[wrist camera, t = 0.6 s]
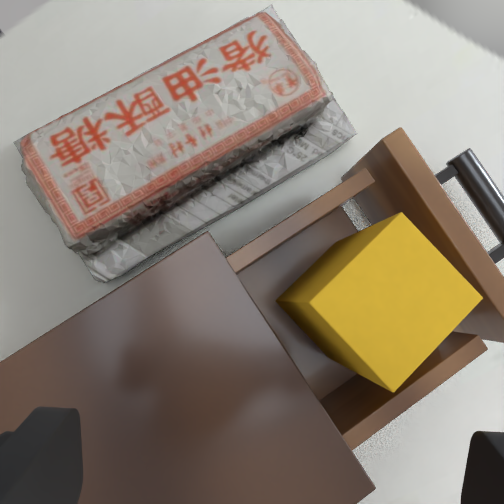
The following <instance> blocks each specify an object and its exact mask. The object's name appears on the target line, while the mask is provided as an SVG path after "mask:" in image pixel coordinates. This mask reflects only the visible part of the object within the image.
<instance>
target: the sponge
mask: <svg viewBox="0 0 504 504" xmlns="http://www.w3.org/2000/svg"><path fill="white" fill-rule="evenodd" d="M482 299H483V297H482V296H481V295H480V294H479V293H478V292H477V291H476V290H475V289H474V288H473V287H472V286H471V284H470V283H469V282H468V281H467V280H466V279H465V278H464V277H463V276H462V275H461V274H460V273H459V272H458V271H457V270H456V269H455V268H454V267H453V266H452V264H451V263H450V262H449V261H448V260H447V259H446V258H445V257H444V256H443V255H442V254H441V253H440V252H439V251H438V250H437V249H436V248H435V247H434V246H433V245H432V243H431V242H430V241H429V240H428V239H427V238H426V237H425V236H424V235H423V234H422V233H421V232H420V231H419V230H418V229H417V228H416V227H415V226H414V225H413V223H412V222H411V221H410V220H409V219H408V218H407V217H406V216H405V215H404V214H403V213H402V212H400V213H398V214H396V215H394V216H391V217H389V218H387V219H385V220H383V221H380V222H378V223H376V224H374V225H372V226H370V227H367V228H365V229H363V230H361V231H359V232H356V233H354V234H352V235H350V236H348V237H346V238H343V239H341V240H339V241H337V242H335V243H334V244H333V245H332V246H331V247H330V248H329V249H328V250H327V251H326V252H325V253H324V254H323V255H322V256H321V257H320V258H319V259H318V260H317V261H316V262H315V263H314V264H313V265H312V266H311V267H309V268H308V269H307V270H306V271H305V272H304V273H303V274H302V275H301V276H300V277H299V278H298V279H297V280H296V281H295V282H294V283H293V284H292V285H291V286H290V287H289V288H288V289H287V290H286V291H285V292H284V293H283V294H281V295H280V296H279V297H278V298H277V299H276V302H277V303H278V305H279V306H280V307H281V308H282V309H283V310H284V311H285V312H286V313H287V314H288V315H289V316H290V317H291V318H292V319H293V320H294V322H295V323H296V324H297V325H298V326H299V327H300V328H301V329H302V330H303V331H304V332H305V333H306V334H307V335H308V336H309V338H310V339H311V340H312V341H313V342H314V343H315V344H316V345H317V346H318V347H319V348H320V349H321V350H322V351H323V352H324V354H325V355H326V356H327V357H328V358H329V359H331V360H333V361H335V362H337V363H339V364H341V365H342V366H344V367H346V368H348V369H350V370H352V371H354V372H356V373H357V374H359V375H361V376H363V377H365V378H367V379H369V380H370V381H372V382H374V383H376V384H378V385H380V386H382V387H384V388H385V389H387V390H389V391H391V392H395V391H396V390H397V389H398V388H399V387H400V385H401V384H402V383H403V382H404V381H405V380H406V379H407V378H408V377H409V376H410V375H411V374H412V373H413V372H414V371H415V370H416V369H417V368H418V366H419V365H420V364H421V363H422V362H423V361H424V360H425V359H426V358H427V357H428V356H429V355H430V354H431V353H432V352H433V351H434V350H435V349H436V347H437V346H438V345H439V344H440V343H441V342H442V341H443V340H444V339H445V338H446V337H447V336H448V335H449V334H450V333H451V332H452V331H453V330H454V328H455V327H456V326H457V325H458V324H459V323H460V322H461V321H462V320H463V319H464V318H465V317H466V316H467V315H468V314H469V313H470V312H471V311H472V309H473V308H474V307H475V306H476V305H477V304H478V303H479V302H480V301H481V300H482Z"/></svg>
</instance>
